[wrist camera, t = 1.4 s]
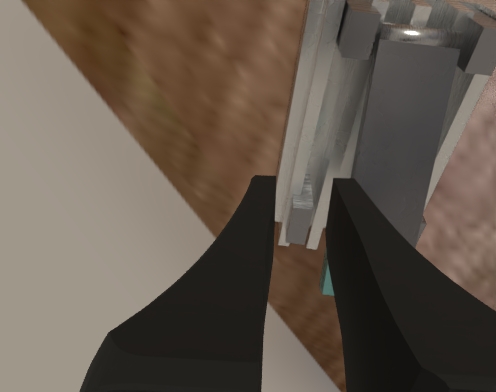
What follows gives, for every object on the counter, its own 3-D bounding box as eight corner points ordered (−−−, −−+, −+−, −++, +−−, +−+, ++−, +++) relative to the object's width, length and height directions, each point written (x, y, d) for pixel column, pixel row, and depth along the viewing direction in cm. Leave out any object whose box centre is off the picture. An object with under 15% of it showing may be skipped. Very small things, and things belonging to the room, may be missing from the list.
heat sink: (311, -24, 17) (319, 0, 14) (491, -1, 17) (550, 29, 14) (270, 205, 25) (269, 260, 21) (394, 220, 25) (415, 278, 22)
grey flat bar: (364, 22, 15) (371, 17, 14) (468, 35, 15) (480, 30, 14) (318, 284, 18) (322, 294, 17) (408, 295, 18) (416, 305, 17)
